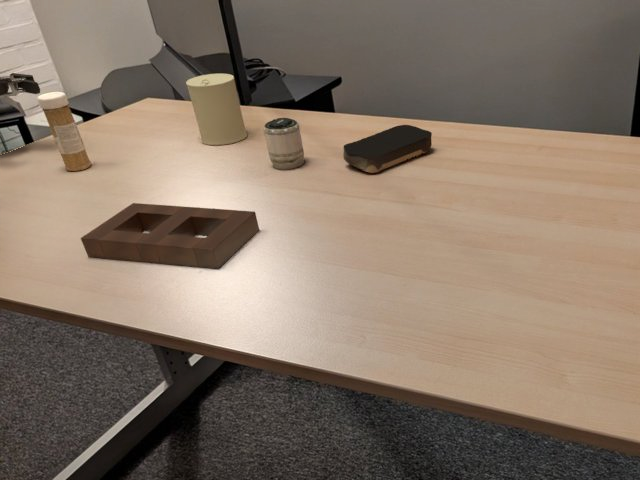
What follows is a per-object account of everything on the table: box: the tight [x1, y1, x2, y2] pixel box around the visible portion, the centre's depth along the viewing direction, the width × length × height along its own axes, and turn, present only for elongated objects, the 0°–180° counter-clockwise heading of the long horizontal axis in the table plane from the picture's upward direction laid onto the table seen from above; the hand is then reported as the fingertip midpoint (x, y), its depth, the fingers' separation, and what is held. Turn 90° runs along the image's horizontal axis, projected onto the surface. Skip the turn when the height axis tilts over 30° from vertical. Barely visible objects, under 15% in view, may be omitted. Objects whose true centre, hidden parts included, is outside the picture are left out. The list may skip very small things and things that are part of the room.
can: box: [185, 73, 248, 146], centre depth 130 cm, size 9×9×12 cm
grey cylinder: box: [262, 117, 305, 170], centre depth 118 cm, size 6×6×8 cm
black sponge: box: [343, 124, 433, 174], centre depth 119 cm, size 16×8×4 cm, turn 136°
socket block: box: [80, 202, 260, 270], centre depth 95 cm, size 21×12×3 cm, turn 76°
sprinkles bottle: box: [37, 91, 92, 172], centre depth 119 cm, size 5×5×14 cm
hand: (15, 94), depth 121 cm, fingers open, 8 cm apart
